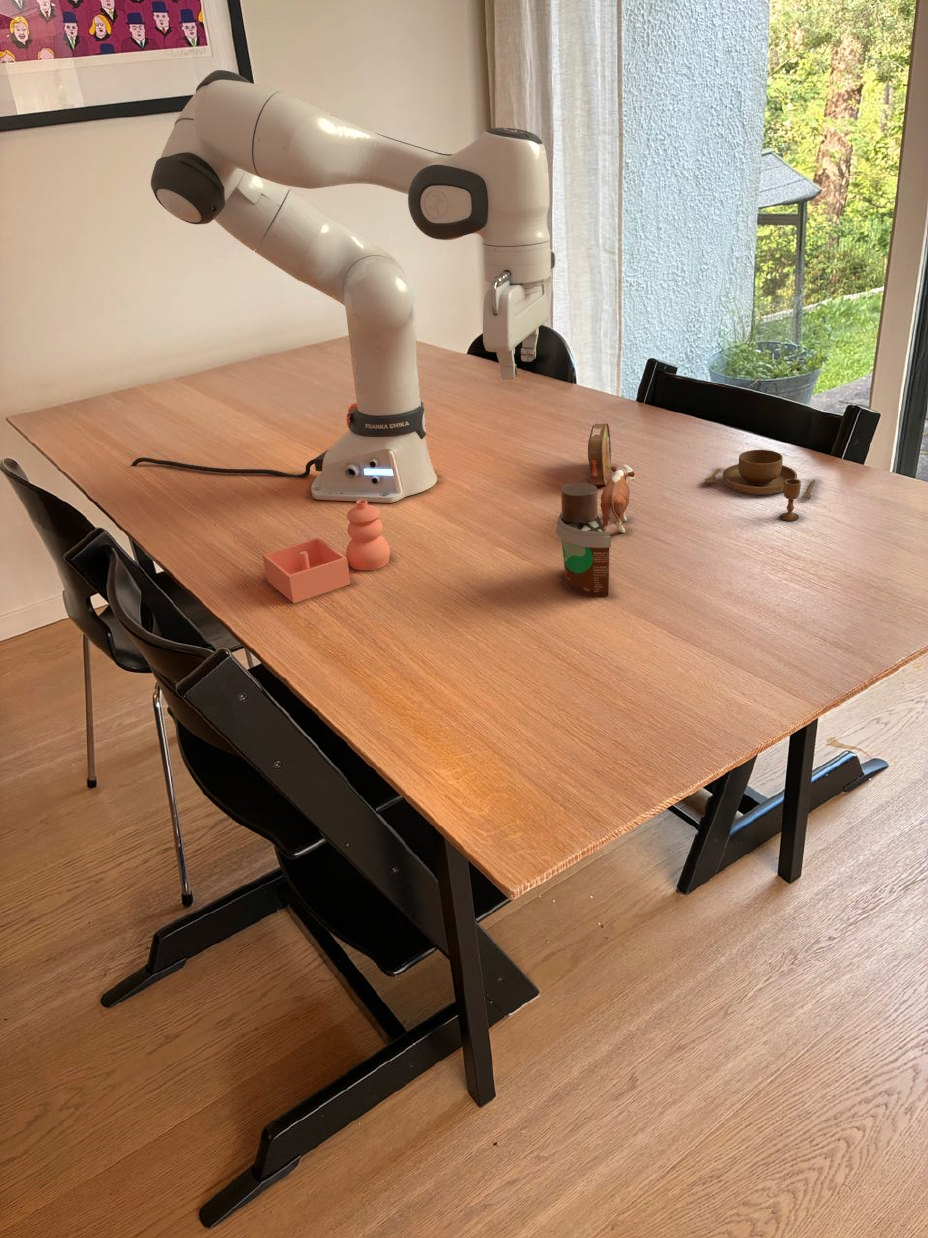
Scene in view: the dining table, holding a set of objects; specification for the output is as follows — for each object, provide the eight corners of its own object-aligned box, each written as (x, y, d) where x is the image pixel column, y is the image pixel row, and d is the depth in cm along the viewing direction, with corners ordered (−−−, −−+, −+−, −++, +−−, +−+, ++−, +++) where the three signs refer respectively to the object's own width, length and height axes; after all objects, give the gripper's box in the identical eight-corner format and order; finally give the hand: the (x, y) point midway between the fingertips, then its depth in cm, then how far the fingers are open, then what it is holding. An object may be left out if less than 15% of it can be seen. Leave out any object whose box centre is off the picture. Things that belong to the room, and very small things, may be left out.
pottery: (293, 603, 141) (282, 539, 136) (267, 580, 148) (255, 519, 143) (403, 566, 149) (397, 505, 144) (373, 546, 156) (366, 487, 151)
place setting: (820, 476, 168) (823, 442, 165) (801, 522, 152) (804, 486, 149) (715, 467, 175) (717, 435, 172) (687, 510, 159) (688, 475, 156)
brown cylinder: (561, 524, 133) (561, 496, 131) (561, 510, 137) (561, 482, 135) (598, 523, 133) (597, 495, 131) (596, 509, 137) (596, 481, 135)
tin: (605, 492, 168) (605, 444, 164) (586, 492, 169) (585, 444, 165) (612, 461, 181) (612, 416, 177) (594, 461, 182) (594, 416, 178)
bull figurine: (638, 508, 161) (639, 460, 157) (622, 543, 150) (622, 492, 146) (611, 507, 163) (611, 459, 159) (593, 540, 152) (593, 490, 148)
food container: (551, 566, 145) (548, 502, 140) (592, 562, 145) (592, 498, 140) (565, 605, 134) (563, 537, 129) (610, 600, 134) (610, 532, 130)
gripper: (517, 279, 122) (519, 391, 128) (559, 251, 139) (559, 351, 145) (468, 279, 124) (473, 388, 130) (515, 251, 141) (517, 350, 147)
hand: (519, 369), depth 138 cm, fingers open, 8 cm apart
